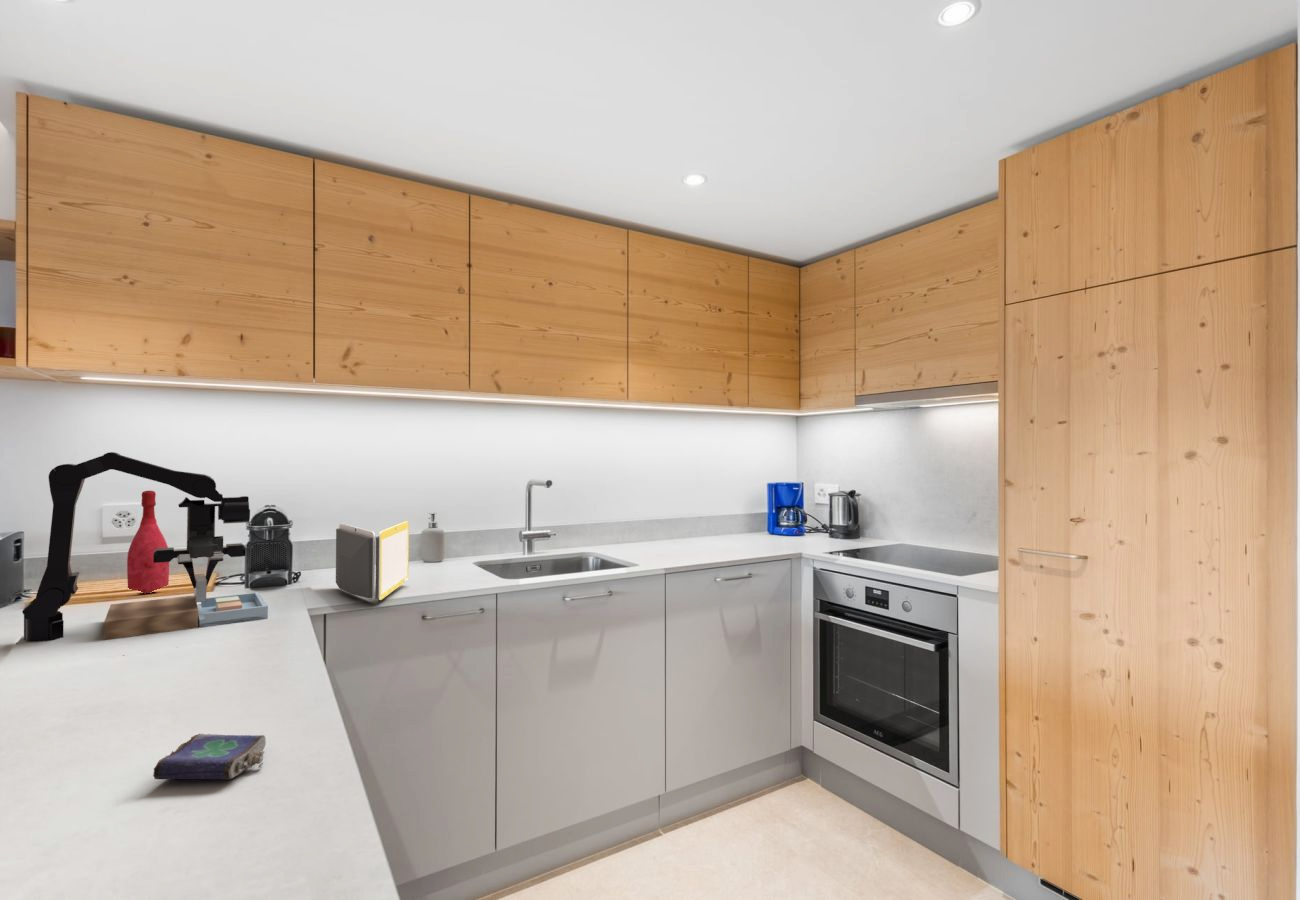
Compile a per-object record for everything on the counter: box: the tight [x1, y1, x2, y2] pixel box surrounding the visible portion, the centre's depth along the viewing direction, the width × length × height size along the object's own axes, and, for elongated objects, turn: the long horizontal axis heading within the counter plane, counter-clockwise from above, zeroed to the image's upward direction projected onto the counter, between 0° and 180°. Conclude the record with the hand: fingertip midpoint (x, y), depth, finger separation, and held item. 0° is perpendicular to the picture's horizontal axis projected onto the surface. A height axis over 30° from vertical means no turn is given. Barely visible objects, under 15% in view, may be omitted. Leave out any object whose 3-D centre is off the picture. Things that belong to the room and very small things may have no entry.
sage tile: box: [215, 596, 240, 612], centre depth 168 cm, size 5×5×2 cm
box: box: [197, 591, 269, 628], centre depth 165 cm, size 14×20×3 cm
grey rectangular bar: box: [193, 572, 208, 603], centre depth 161 cm, size 2×14×5 cm, turn 37°
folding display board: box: [335, 520, 410, 601], centre depth 197 cm, size 35×22×20 cm, turn 44°
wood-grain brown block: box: [103, 595, 199, 641], centre depth 156 cm, size 17×20×4 cm
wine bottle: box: [126, 490, 170, 595], centre depth 192 cm, size 10×10×30 cm
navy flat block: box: [152, 733, 267, 780], centre depth 84 cm, size 9×3×11 cm
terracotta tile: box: [217, 601, 242, 611], centre depth 162 cm, size 5×5×2 cm
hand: (200, 587), depth 161 cm, fingers closed on grey rectangular bar, 2 cm apart
